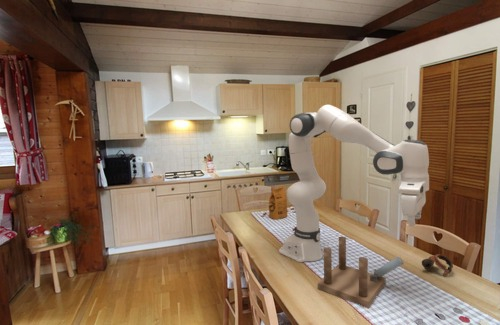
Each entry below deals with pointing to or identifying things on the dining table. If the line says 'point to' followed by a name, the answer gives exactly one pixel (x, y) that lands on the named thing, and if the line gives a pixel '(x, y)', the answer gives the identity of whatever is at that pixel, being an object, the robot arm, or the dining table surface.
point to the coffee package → (278, 204)
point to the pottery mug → (438, 263)
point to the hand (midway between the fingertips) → (414, 221)
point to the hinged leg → (388, 267)
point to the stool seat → (350, 278)
